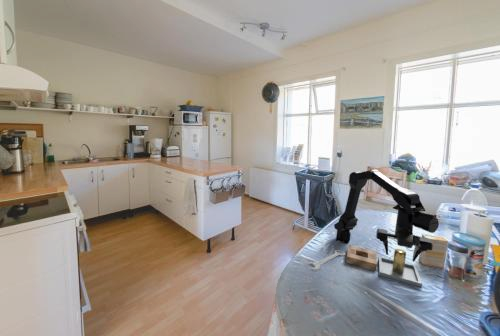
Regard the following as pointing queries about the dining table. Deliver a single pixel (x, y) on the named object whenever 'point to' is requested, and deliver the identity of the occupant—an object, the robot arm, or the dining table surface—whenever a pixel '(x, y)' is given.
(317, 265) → the wrench
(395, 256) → the brass pin
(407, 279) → the tray
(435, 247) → the supplement box
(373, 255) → the pin block
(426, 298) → the dining table surface
